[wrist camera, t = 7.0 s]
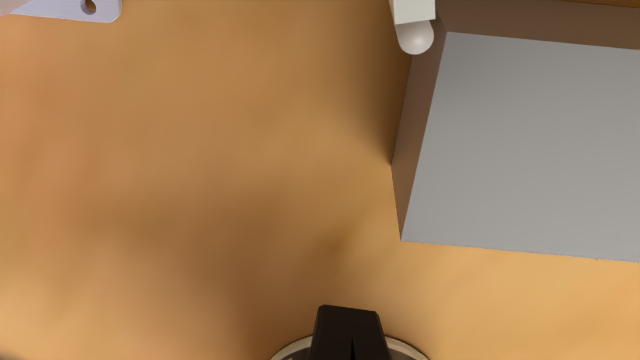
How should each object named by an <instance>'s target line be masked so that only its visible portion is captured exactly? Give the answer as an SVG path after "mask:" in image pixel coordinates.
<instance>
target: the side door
mask: <svg viewBox="0 0 640 360" xmlns="http://www.w3.org/2000/svg"><path fill="white" fill-rule="evenodd" d="M388 1H389V5H390V9H391V13H392V17H393V21H394V26H395V30H396V34H397V38H398V42H399V45H400V47H401V48H402V50H404V51H405V52H406V53H409V54H420V53H423V52H425V51H426V50H427V49H428V48H429V47H430V46H431V44H432V42H433V39H434V32H433V29H432V27H431V24H430V22H429V20H432V19H435V0H388Z"/></svg>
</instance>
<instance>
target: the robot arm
mask: <svg viewBox="0 0 640 360" xmlns="http://www.w3.org/2000/svg"><path fill="white" fill-rule="evenodd" d="M91 1H92V2H94V3H95V6H96V11H95V12H94V11H91V10H89V9H88V8H87V6H86V4H85V0H0V17H2V16H3V15H5V14H17V15H28V16H38V17H49V18H59V19H70V20H80V21H91V22H101V23H111V22H113V21H115V20H116V19H117V18H119V17H120V15H121V13H122V2H121V0H91ZM307 360H393V359H392V356H391V353H390V351H389V348H388V345H387V342H386V339H385V336H384V333H383V329H382V326H381V323H380V319H379V315H378V314H377V313H376V312H375V311H368V310H361V309H353V308H346V307H339V306H331V305H322V306H320V307H319V308H318V313H317V317H316V322H315V327H314V332H313V336H312V341H311V346H310V350H309V355H308V359H307Z"/></svg>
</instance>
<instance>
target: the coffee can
mask: <svg viewBox="0 0 640 360" xmlns="http://www.w3.org/2000/svg"><path fill="white" fill-rule="evenodd" d="M312 336H313V335H312ZM312 336H309V337H306V338H303V339H300V340H298V341H295V342H293V343H291V344H289V345H287V346H285V347H284V348H283V349H281V350H280V351H279V352H278V353H276V354H275V355H274V356H273V357H272V358H271V360H307V359H308V355H309V350H310V346H311V341H312ZM385 339H386V342H387V345H388V348H389V351H390V353H391V356H392V359H393V360H429V359H428V358H427V357H425V356H424V355H423V354H421V353H420V352H418V351H417V350H416V349H414V348H413V347H411V346H409V345H408V344H406V343H404V342H401V341H399V340H396V339H393V338H390V337H387V336H385Z"/></svg>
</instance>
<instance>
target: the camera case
mask: <svg viewBox="0 0 640 360" xmlns="http://www.w3.org/2000/svg"><path fill="white" fill-rule="evenodd" d="M429 22H430V24H431V27H432V29H433V32H434V39H433V42H432V44H431V46H430V47H429V48H428V49H427V50H426V51H425V52H423V53H420V54H413V55H412V60H411V65H410V71H409V76H408V81H407V86H406V92H405V97H404V102H403V108H402V113H401V118H400V123H399V129H398V134H397V139H396V144H395V150H394V155H393V160H392V165H391V170H392V178H393V186H394V193H395V201H396V209H397V217H398V224H399V232H400V240H401V241H408V242H418V243H429V244H440V245H451V246H462V247H473V248H484V249H494V250H505V251H516V252H527V253H538V254H549V255H560V256H570V257H581V258H592V259H603V260H614V261H625V262H636V263H640V8H632V7H622V6H611V5H601V4H591V3H580V2H570V1H560V0H435V19H432V20H429Z"/></svg>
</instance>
